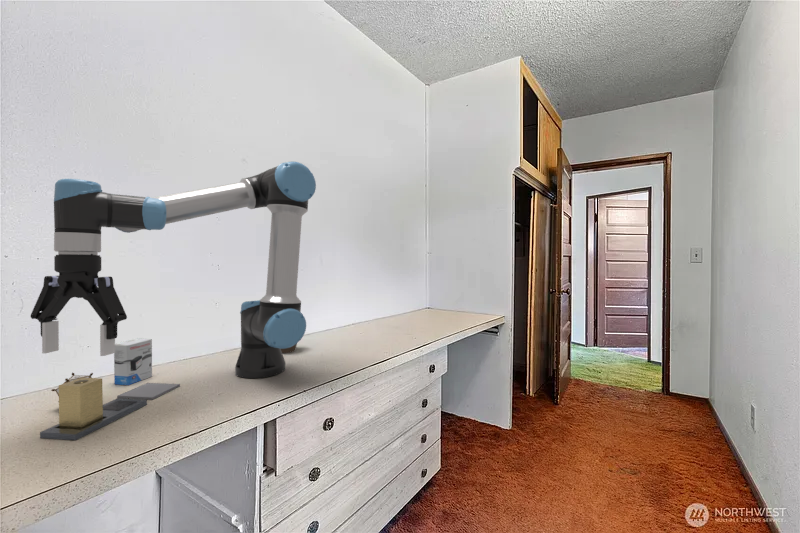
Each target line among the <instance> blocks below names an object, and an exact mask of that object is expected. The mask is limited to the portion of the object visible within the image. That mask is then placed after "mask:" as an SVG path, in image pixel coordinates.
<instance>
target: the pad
mask: <svg viewBox="0 0 800 533" xmlns="http://www.w3.org/2000/svg"><path fill="white" fill-rule="evenodd" d="M180 387H181V384H180V383H161V382H146V383H144V384H142V385H139V386H136V387H134V388H132V389H130V390H127V391H125V392H122V393H120V394H118V395H117V396H116V399H117V398H121V399H128V398H129V399H141V400H147V399H148V400H147V401H149V400H151V401H152V400H155V399H157V398H159V397H161V396H163V395H165V394H167V393H170V392H171V391H173V390H176V389H177V388H180Z"/></svg>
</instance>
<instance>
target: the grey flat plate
mask: <svg viewBox="0 0 800 533" xmlns="http://www.w3.org/2000/svg"><path fill="white" fill-rule="evenodd" d="M147 405H148V400H147V399H128V398H117V397H116V398H115V399H113V400H111V401H109V402H106V403H104V404H103V419H102V420H100V421H98V422H96V423H94V424H92V425H90V426H87V427H85V428H83V429H81V430H76V429H60V428H59V423H58V424H56V425H53V426H51V427H48V428H47V429H44V430H42V431H39V438H40V439H49V440H64V441H77V440H79V439H81V438H84V437H85V436H87V435H90V434H91V433H93V432H95V431H97V430H99V429H101V428H103V427H105V426H107V425H109V424H111V423H113V422H115V421H116V420H119V419H121V418H123V417H125V416H127V415H129V414H131V413H133V412H135V411H137V410H138V409H139V410H140V409H141V408H143V407H145V406H147Z"/></svg>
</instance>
